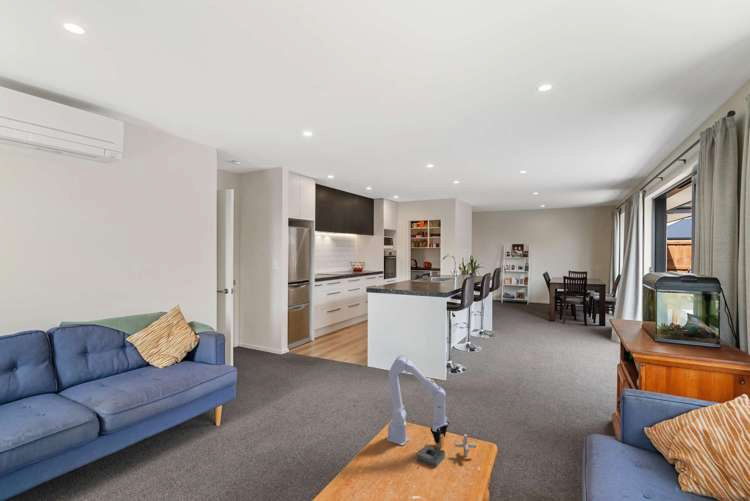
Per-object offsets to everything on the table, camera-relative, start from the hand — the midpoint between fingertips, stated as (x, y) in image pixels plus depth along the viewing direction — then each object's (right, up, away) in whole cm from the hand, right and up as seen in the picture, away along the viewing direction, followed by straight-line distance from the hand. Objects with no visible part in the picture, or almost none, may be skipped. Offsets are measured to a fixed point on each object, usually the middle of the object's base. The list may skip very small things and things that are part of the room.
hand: (440, 439), depth 183 cm
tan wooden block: (0, -3, 0) cm, 3 cm away
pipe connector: (+11, -4, -9) cm, 14 cm away
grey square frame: (-7, -3, -11) cm, 13 cm away
